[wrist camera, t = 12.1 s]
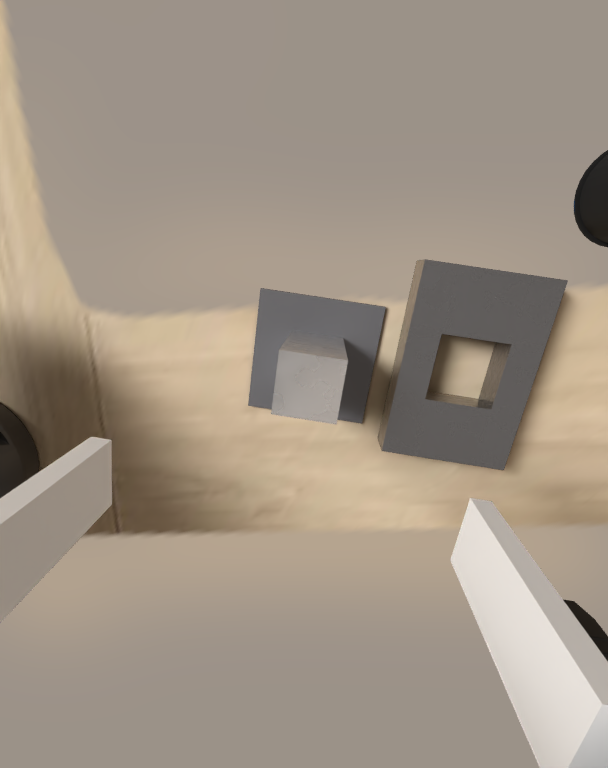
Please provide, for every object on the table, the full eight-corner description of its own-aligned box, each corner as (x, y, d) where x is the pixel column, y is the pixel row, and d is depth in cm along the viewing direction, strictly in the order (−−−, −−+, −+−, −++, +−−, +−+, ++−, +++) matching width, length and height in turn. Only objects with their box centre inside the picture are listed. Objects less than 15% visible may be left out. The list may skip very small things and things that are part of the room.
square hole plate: (377, 437, 39) (381, 450, 36) (416, 260, 34) (424, 259, 31) (490, 455, 39) (503, 470, 36) (547, 280, 34) (567, 280, 31)
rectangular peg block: (285, 378, 38) (270, 413, 28) (292, 329, 36) (279, 349, 26) (334, 386, 37) (336, 424, 28) (342, 337, 36) (348, 360, 26)
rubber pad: (249, 404, 39) (248, 405, 39) (261, 288, 36) (260, 288, 35) (361, 422, 39) (362, 423, 38) (385, 306, 35) (385, 307, 35)
